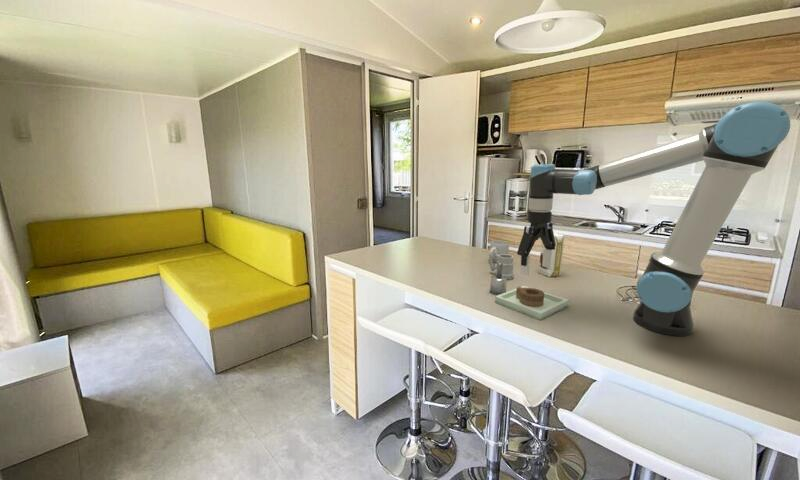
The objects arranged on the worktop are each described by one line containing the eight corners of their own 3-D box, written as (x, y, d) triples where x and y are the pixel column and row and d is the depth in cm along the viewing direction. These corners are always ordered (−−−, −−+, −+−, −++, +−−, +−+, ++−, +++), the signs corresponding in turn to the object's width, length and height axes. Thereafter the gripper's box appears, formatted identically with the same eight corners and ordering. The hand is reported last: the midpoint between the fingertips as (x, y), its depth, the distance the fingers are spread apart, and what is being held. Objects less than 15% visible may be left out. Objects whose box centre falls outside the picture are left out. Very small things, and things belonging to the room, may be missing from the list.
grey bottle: (508, 292, 134) (511, 263, 131) (499, 296, 130) (501, 266, 128) (496, 288, 139) (498, 260, 136) (486, 291, 135) (488, 262, 132)
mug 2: (506, 281, 147) (508, 254, 144) (484, 274, 156) (485, 249, 153) (516, 277, 151) (518, 251, 149) (494, 271, 160) (496, 246, 158)
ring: (547, 303, 122) (548, 292, 122) (535, 308, 118) (536, 298, 117) (523, 294, 130) (524, 284, 129) (510, 299, 125) (511, 289, 124)
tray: (568, 306, 122) (568, 300, 121) (540, 320, 111) (541, 313, 111) (523, 291, 136) (523, 285, 135) (495, 302, 125) (495, 296, 124)
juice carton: (549, 270, 161) (553, 231, 157) (562, 276, 153) (567, 235, 149) (536, 272, 159) (539, 232, 154) (549, 278, 151) (553, 236, 147)
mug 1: (495, 257, 183) (496, 239, 180) (510, 261, 176) (512, 242, 174) (482, 262, 174) (483, 243, 172) (497, 266, 168) (498, 246, 165)
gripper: (549, 206, 126) (544, 261, 130) (508, 213, 111) (505, 275, 116) (569, 208, 120) (564, 266, 124) (528, 215, 105) (524, 280, 110)
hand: (535, 270), depth 120 cm, fingers open, 13 cm apart
